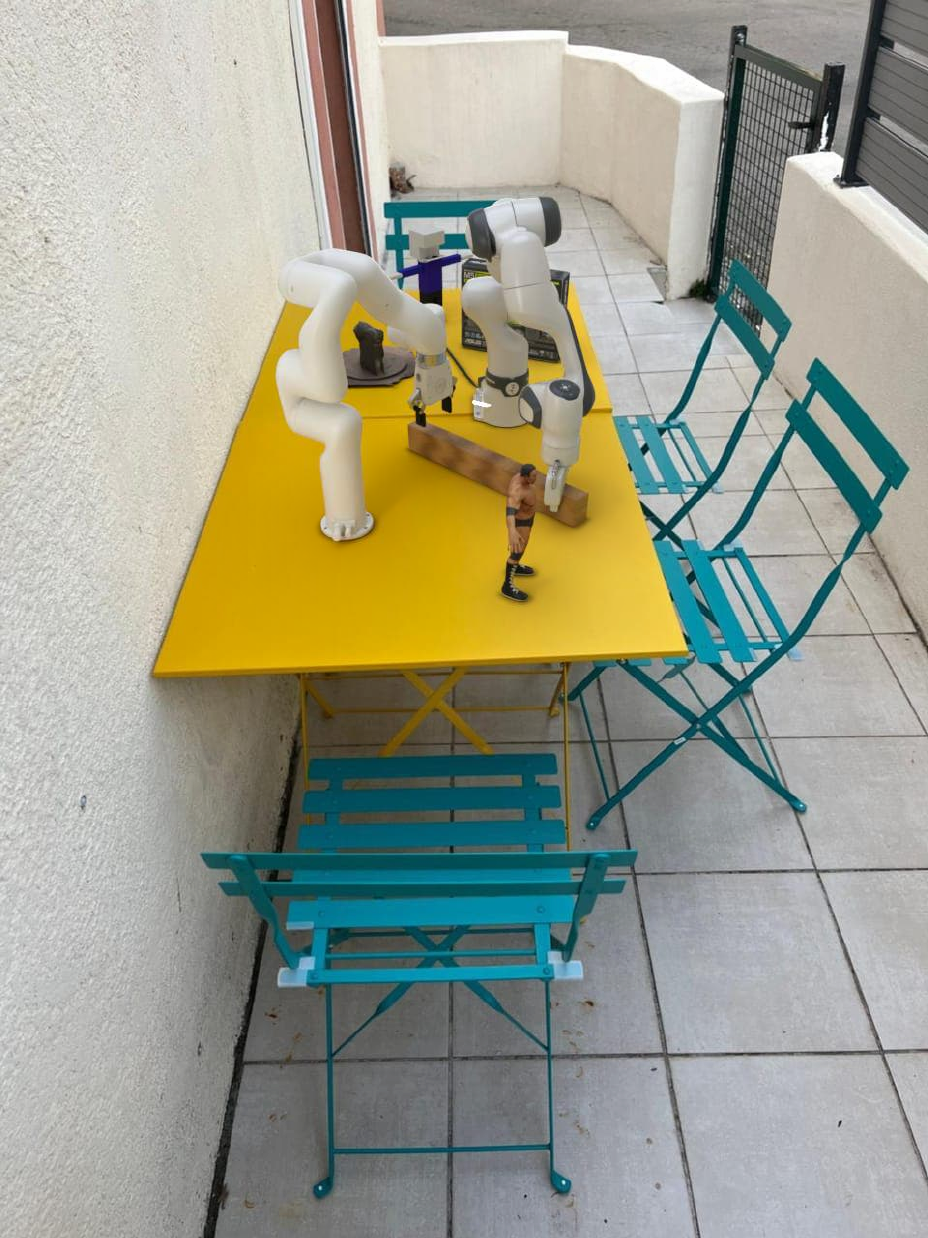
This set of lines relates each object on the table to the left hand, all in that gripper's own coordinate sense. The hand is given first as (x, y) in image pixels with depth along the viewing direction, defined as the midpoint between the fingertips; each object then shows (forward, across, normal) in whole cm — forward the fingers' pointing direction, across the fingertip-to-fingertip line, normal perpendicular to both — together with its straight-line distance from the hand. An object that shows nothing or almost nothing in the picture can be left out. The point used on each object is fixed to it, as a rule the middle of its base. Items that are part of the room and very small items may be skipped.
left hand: (434, 418), depth 230 cm
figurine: (+10, -29, -53) cm, 61 cm away
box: (+12, +64, +27) cm, 71 cm away
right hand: (+7, -1, -41) cm, 42 cm away
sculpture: (+12, +25, +52) cm, 59 cm away
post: (+11, -1, -21) cm, 23 cm away
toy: (+12, +65, +65) cm, 93 cm away
